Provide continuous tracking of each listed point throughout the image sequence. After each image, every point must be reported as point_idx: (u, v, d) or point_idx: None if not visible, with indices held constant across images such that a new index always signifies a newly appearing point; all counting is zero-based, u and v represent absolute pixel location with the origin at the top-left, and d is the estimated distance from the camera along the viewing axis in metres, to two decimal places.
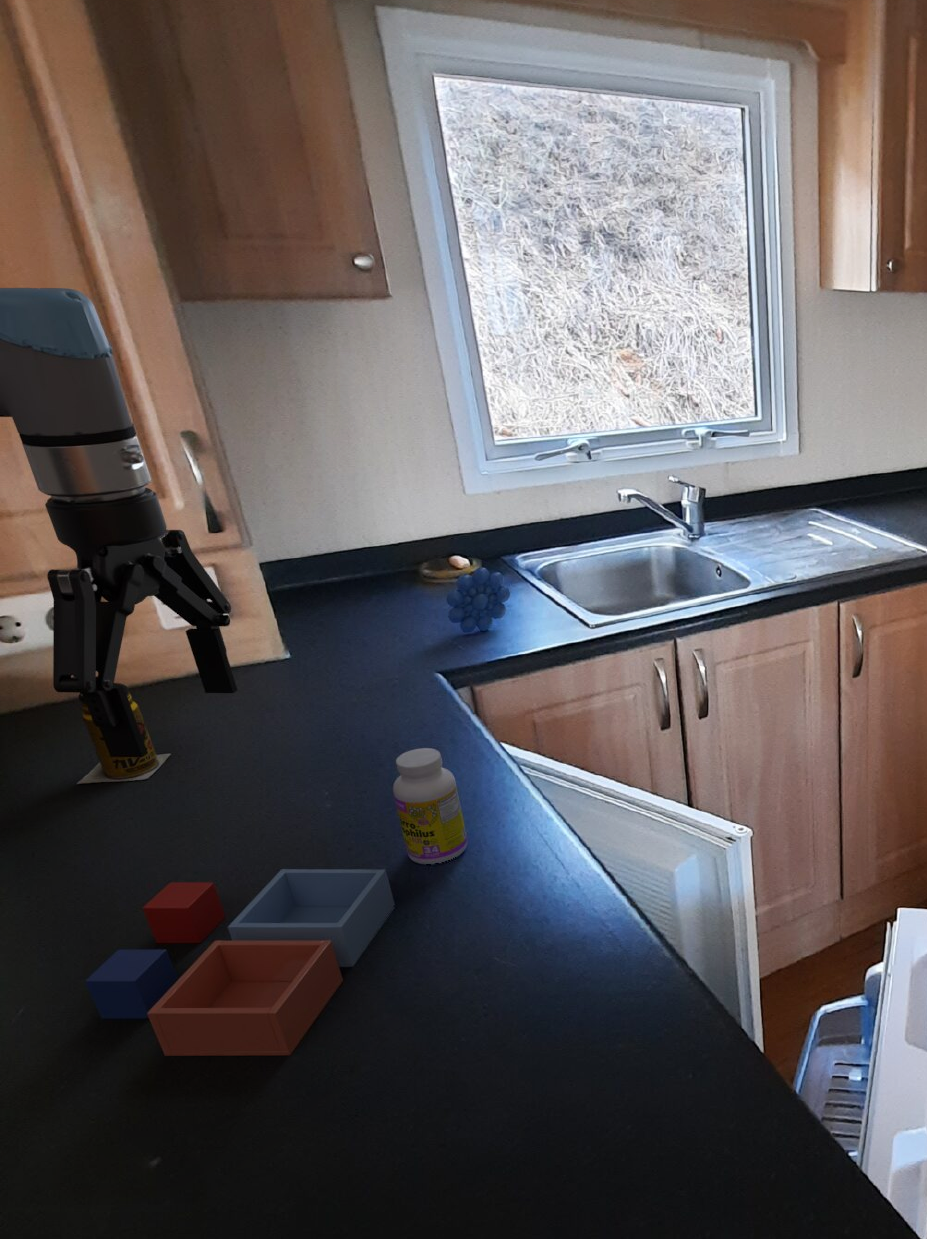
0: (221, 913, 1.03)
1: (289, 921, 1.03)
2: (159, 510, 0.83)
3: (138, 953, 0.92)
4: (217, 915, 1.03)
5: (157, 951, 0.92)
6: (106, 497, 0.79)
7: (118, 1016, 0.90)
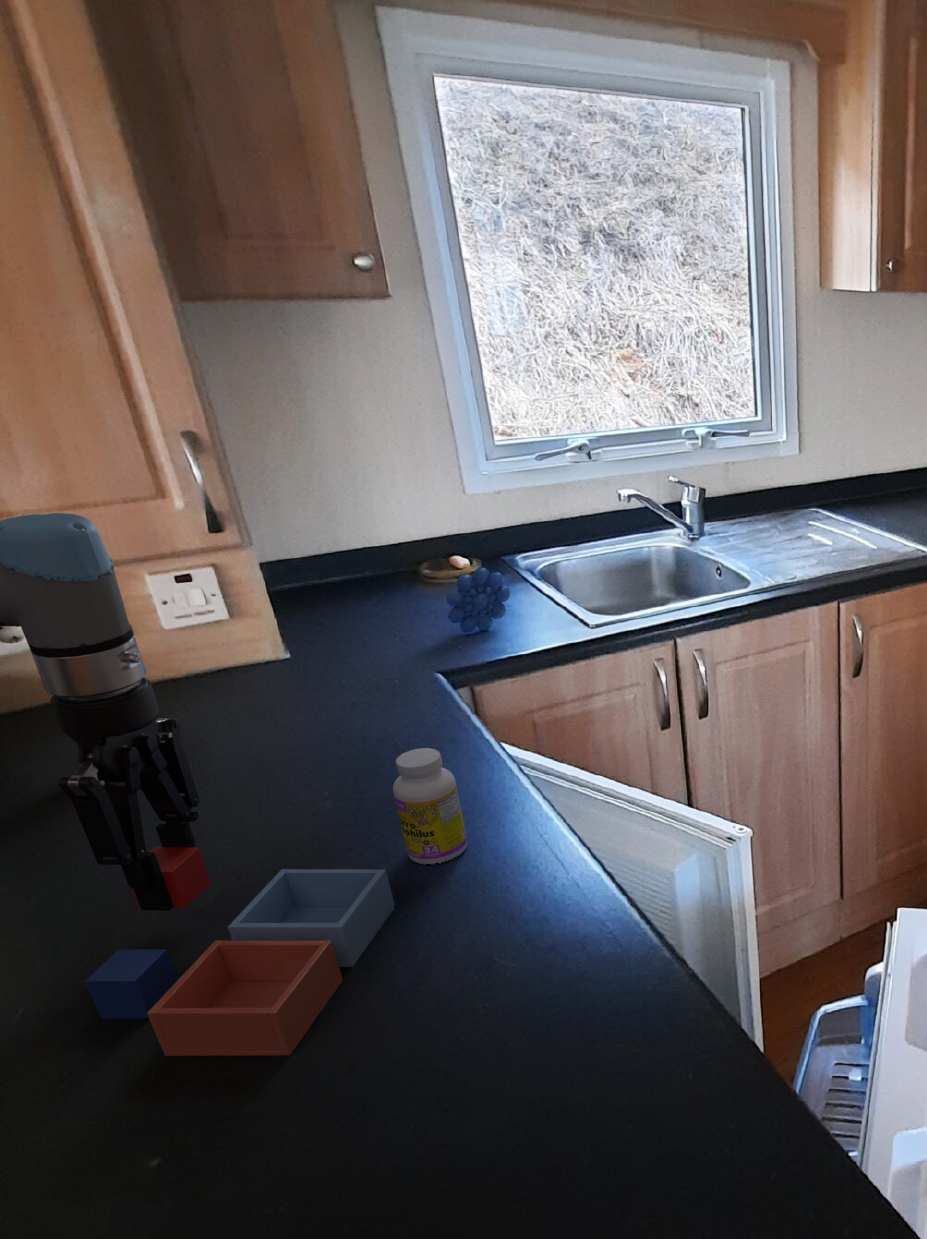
0: (206, 879, 1.01)
1: (289, 921, 1.03)
2: (153, 698, 0.91)
3: (138, 953, 0.92)
4: (202, 881, 1.01)
5: (157, 951, 0.92)
6: (105, 695, 0.87)
7: (118, 1016, 0.90)
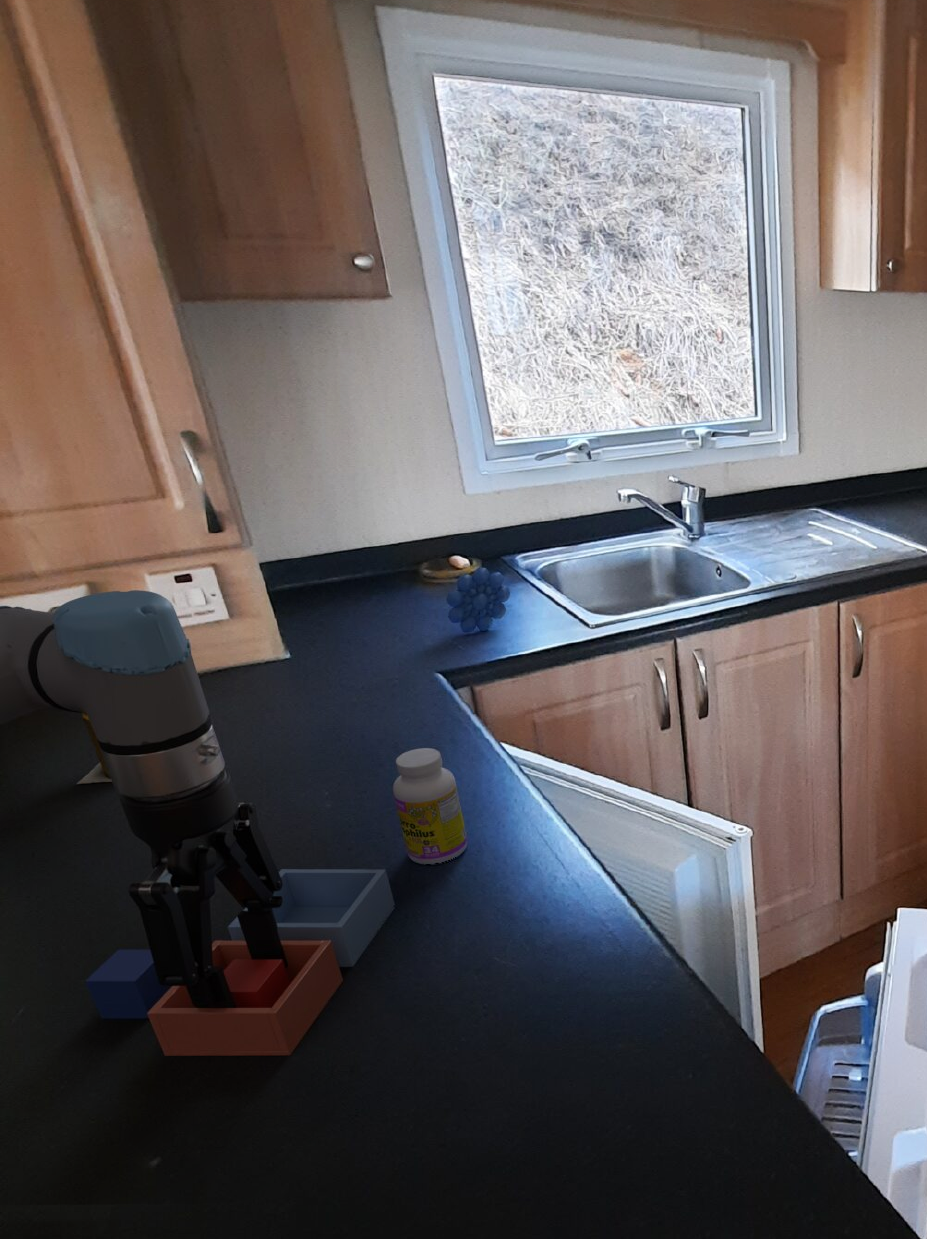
0: None
1: (289, 921, 1.03)
2: (232, 792, 0.81)
3: (138, 953, 0.92)
4: None
5: None
6: (182, 794, 0.77)
7: (118, 1016, 0.90)
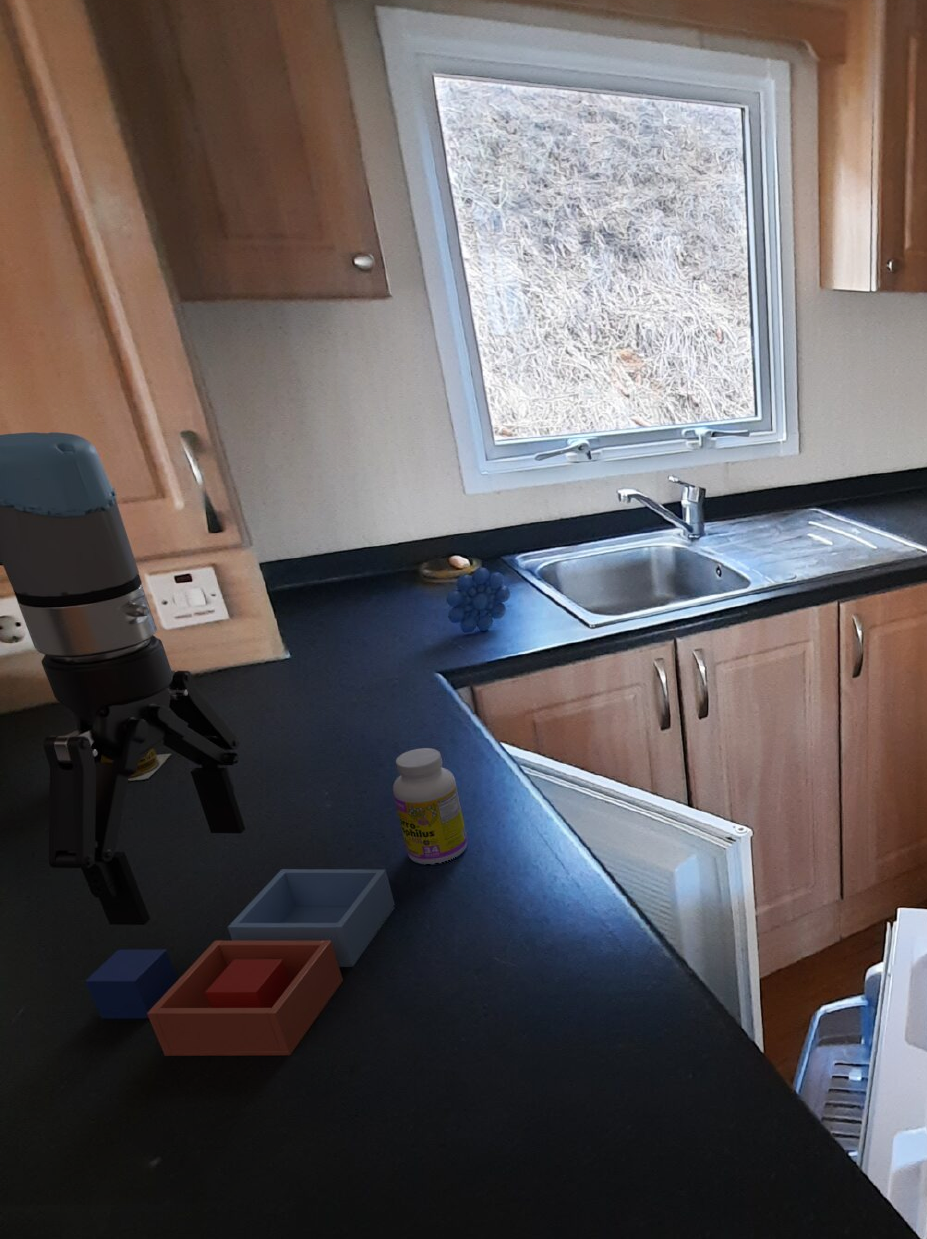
0: None
1: (289, 921, 1.03)
2: (165, 661, 0.76)
3: (138, 953, 0.92)
4: None
5: (157, 951, 0.92)
6: (108, 655, 0.72)
7: (118, 1016, 0.90)
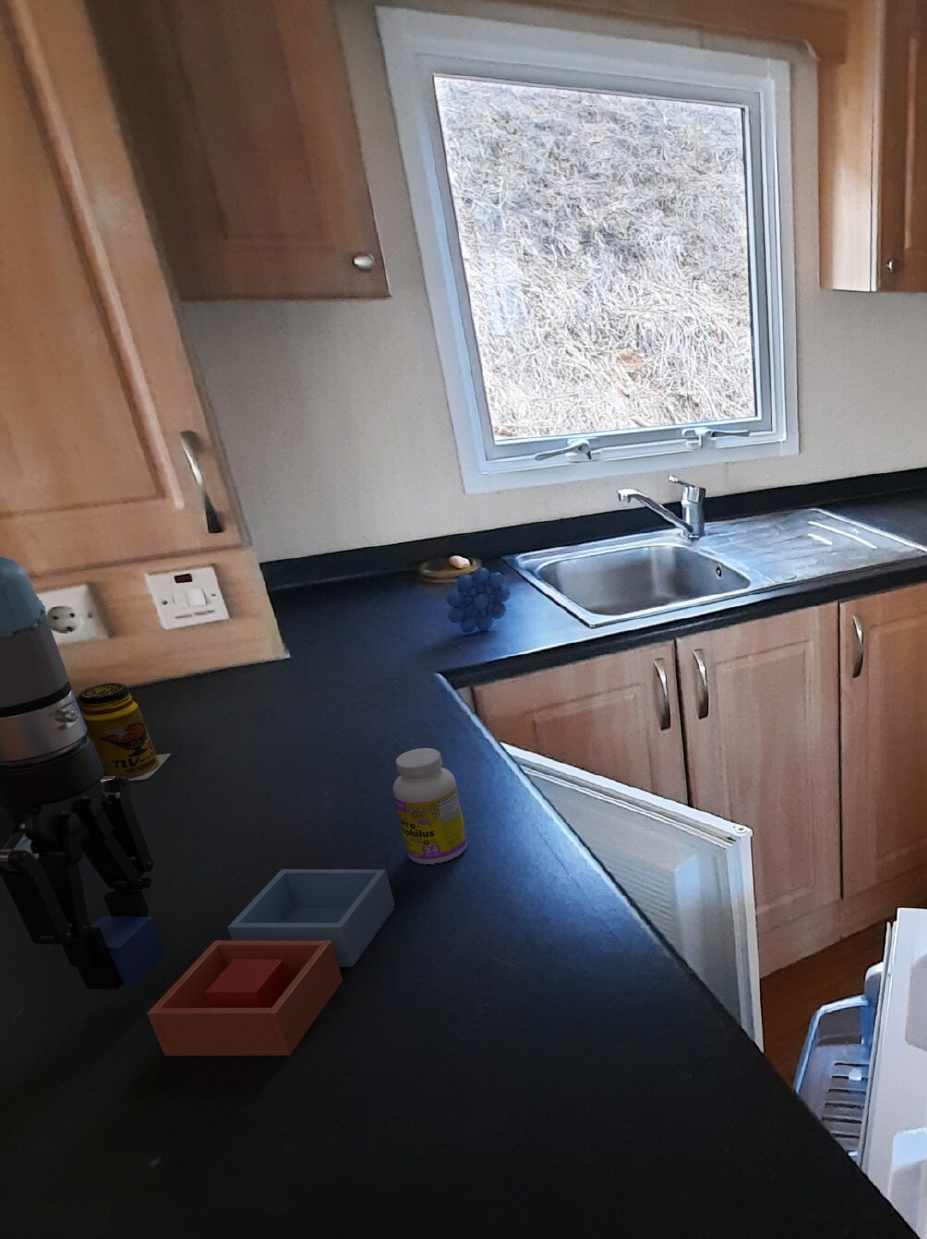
0: None
1: (289, 921, 1.03)
2: (95, 759, 0.82)
3: (122, 920, 0.90)
4: None
5: (142, 918, 0.90)
6: (39, 759, 0.78)
7: None
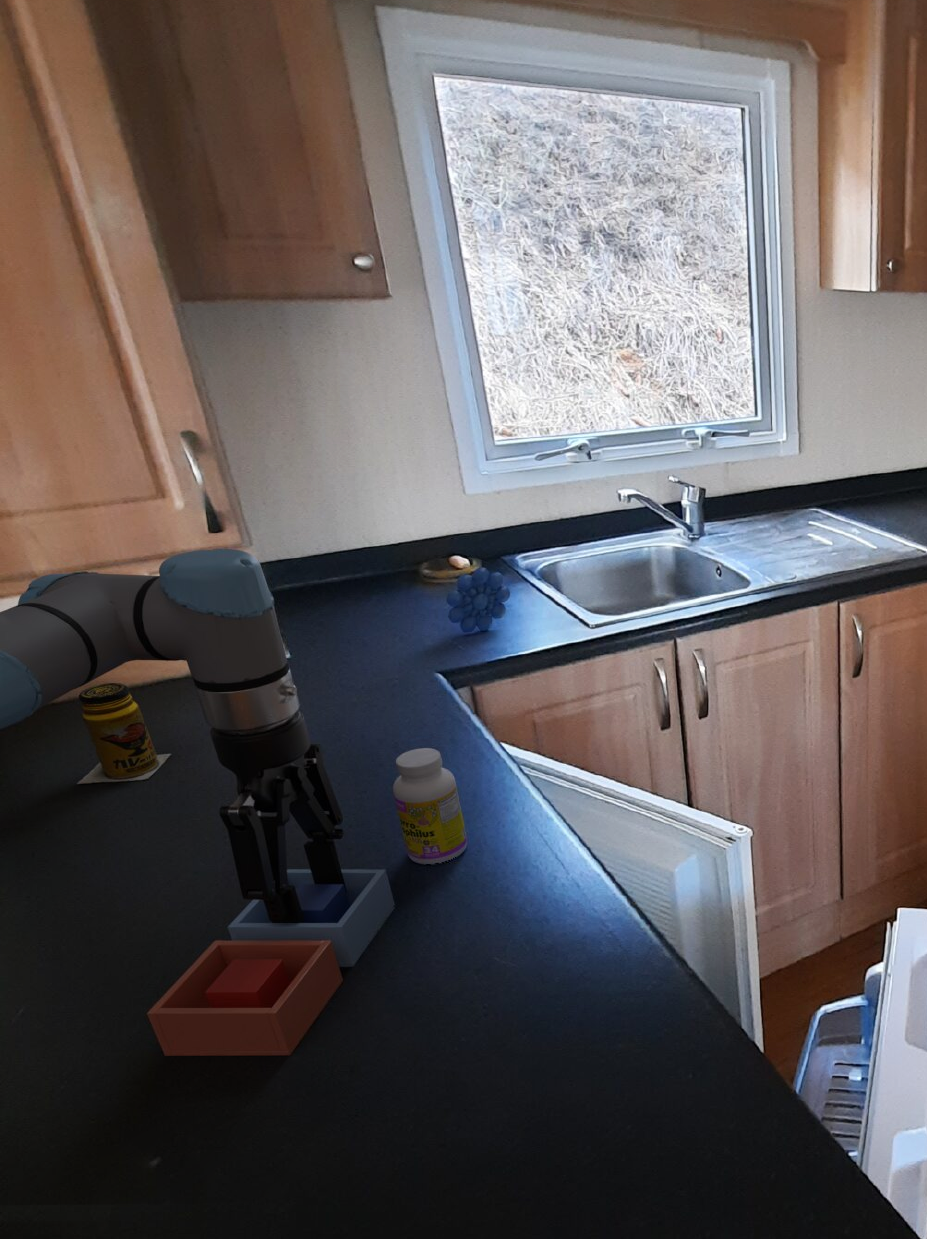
0: None
1: None
2: (306, 730, 0.92)
3: (319, 887, 1.01)
4: None
5: (336, 885, 1.01)
6: (265, 728, 0.88)
7: None
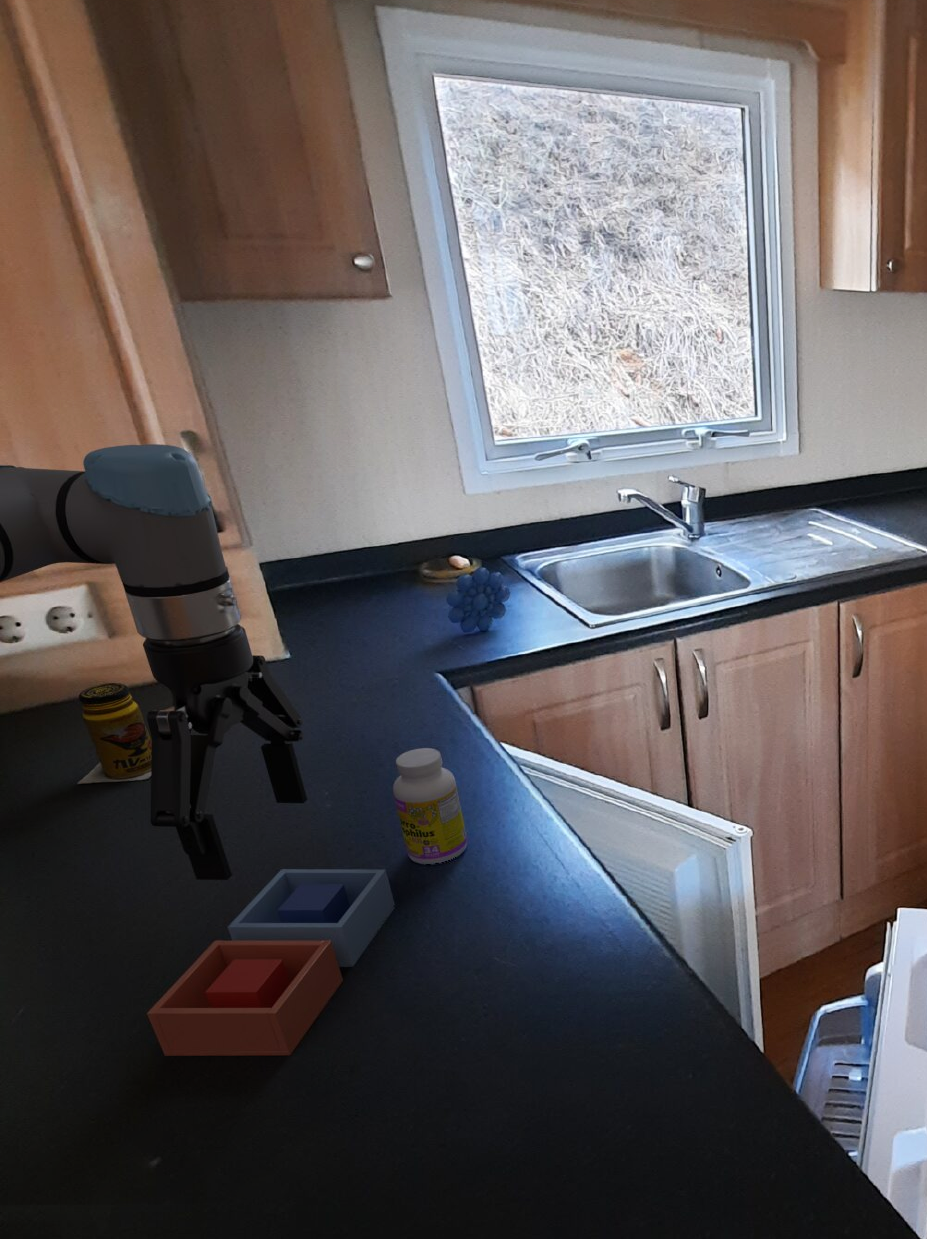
0: None
1: None
2: (248, 645, 0.86)
3: (319, 887, 1.01)
4: None
5: (336, 885, 1.01)
6: (202, 640, 0.82)
7: None
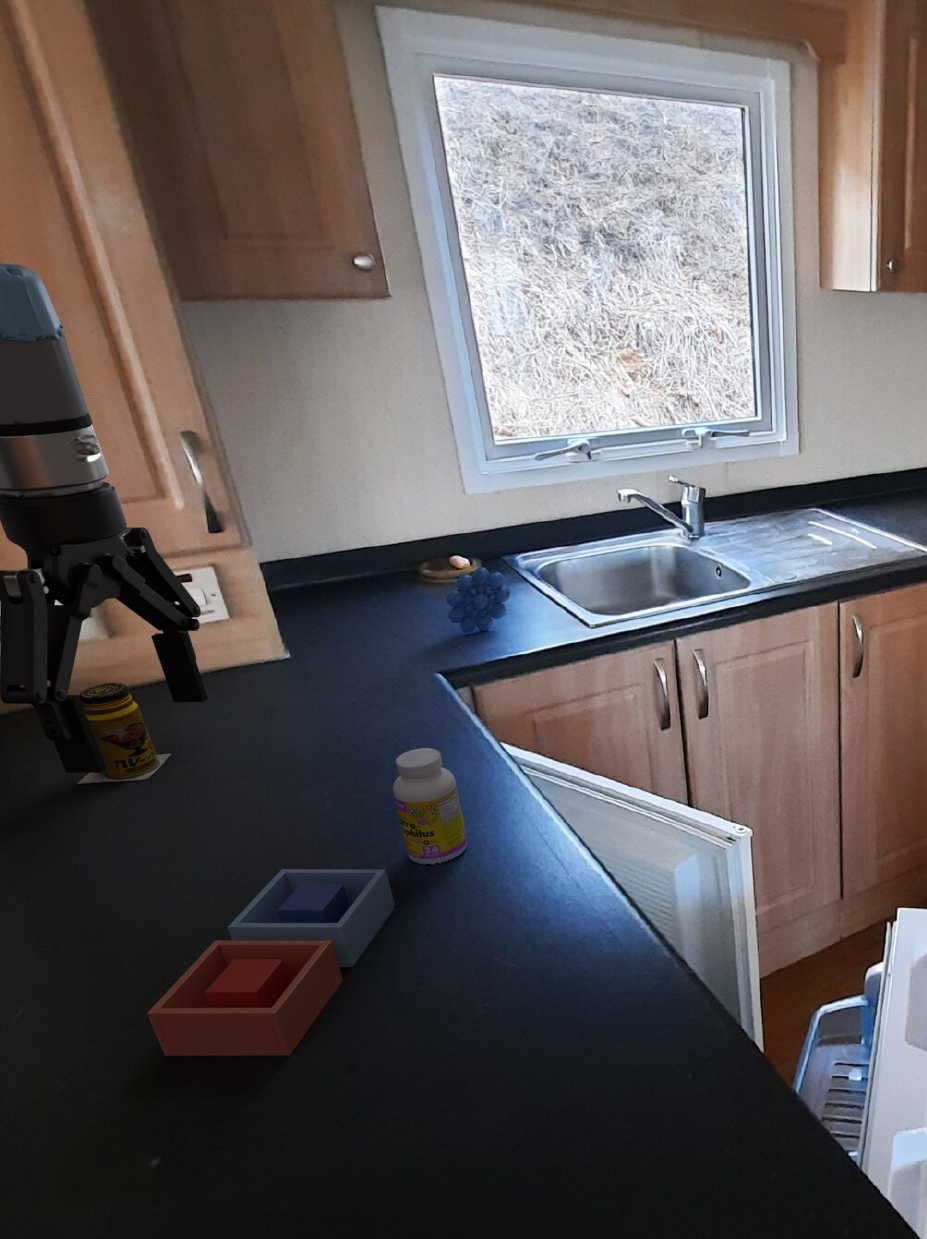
0: None
1: None
2: (118, 506, 0.76)
3: (319, 887, 1.01)
4: None
5: (336, 885, 1.01)
6: (58, 492, 0.72)
7: None
